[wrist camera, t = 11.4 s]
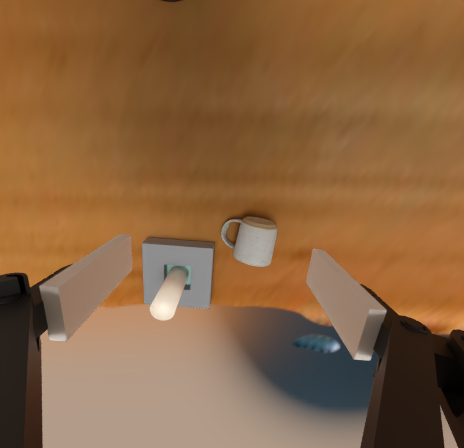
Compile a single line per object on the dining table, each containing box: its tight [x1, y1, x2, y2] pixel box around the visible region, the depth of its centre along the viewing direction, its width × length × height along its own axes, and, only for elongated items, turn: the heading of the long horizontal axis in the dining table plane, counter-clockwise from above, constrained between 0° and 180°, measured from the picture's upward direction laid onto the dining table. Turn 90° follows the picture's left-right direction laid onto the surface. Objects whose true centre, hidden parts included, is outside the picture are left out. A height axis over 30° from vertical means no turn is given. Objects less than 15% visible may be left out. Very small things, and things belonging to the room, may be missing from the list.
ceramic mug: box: [221, 217, 277, 267], centre depth 42 cm, size 11×8×8 cm
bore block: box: [142, 237, 215, 309], centre depth 46 cm, size 14×14×4 cm
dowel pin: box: [150, 265, 189, 320], centre depth 40 cm, size 4×4×12 cm
